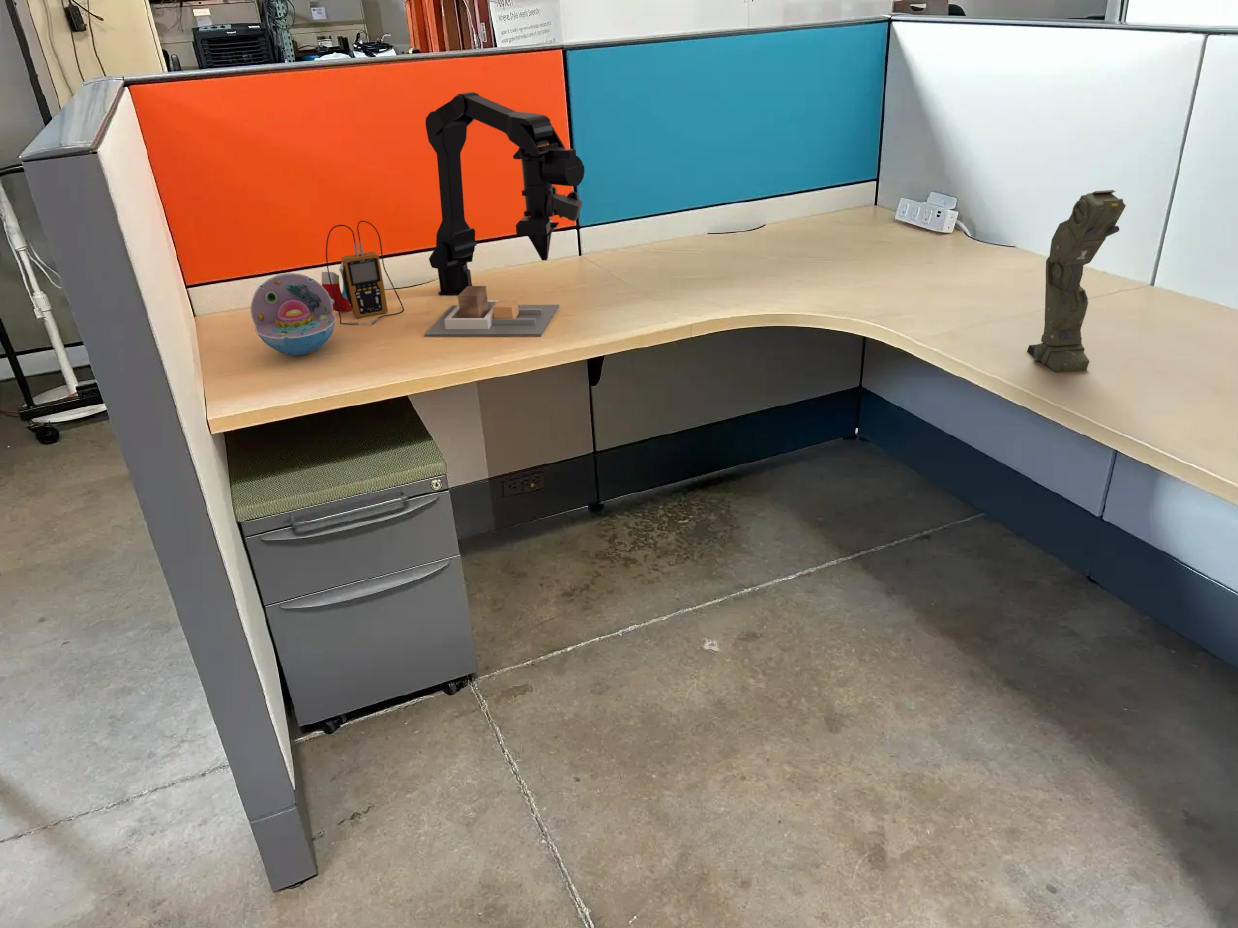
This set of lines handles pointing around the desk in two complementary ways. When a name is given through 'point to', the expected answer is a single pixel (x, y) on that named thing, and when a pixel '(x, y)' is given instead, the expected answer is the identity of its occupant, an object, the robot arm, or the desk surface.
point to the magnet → (336, 290)
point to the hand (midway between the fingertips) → (544, 260)
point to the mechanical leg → (1073, 279)
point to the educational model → (293, 314)
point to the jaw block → (473, 302)
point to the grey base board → (494, 322)
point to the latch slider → (505, 309)
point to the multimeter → (363, 282)
